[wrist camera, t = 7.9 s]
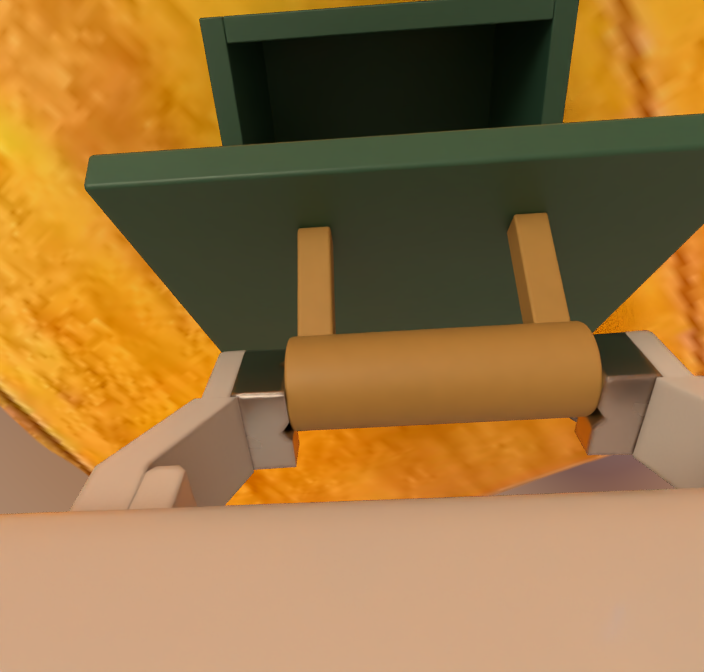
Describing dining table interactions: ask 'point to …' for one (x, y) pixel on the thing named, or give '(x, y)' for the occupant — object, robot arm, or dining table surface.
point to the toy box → (389, 69)
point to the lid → (416, 258)
